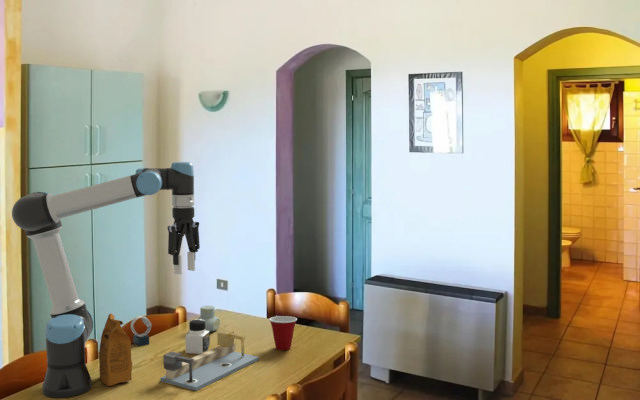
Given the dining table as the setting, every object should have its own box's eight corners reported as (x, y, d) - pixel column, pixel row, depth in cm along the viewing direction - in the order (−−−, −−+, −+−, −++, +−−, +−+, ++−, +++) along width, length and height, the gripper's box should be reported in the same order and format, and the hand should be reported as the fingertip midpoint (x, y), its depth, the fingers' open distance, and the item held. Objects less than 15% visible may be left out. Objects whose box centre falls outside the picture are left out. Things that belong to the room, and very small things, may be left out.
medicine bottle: (203, 354, 254) (202, 323, 253) (185, 353, 256) (184, 322, 254) (210, 348, 261) (209, 318, 260) (192, 347, 263) (192, 317, 261)
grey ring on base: (154, 343, 267) (153, 316, 266) (134, 347, 263) (133, 319, 261) (148, 339, 272) (147, 313, 271) (129, 343, 267) (128, 316, 266)
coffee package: (125, 371, 237) (123, 310, 235) (135, 382, 226) (133, 319, 224) (96, 376, 232) (94, 314, 230) (104, 388, 221) (102, 323, 219)
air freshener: (212, 335, 278) (211, 311, 277) (193, 333, 280) (192, 310, 279) (221, 327, 289) (221, 304, 288) (203, 326, 291) (203, 303, 290)
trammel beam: (188, 383, 223) (187, 360, 222) (164, 377, 228) (163, 354, 227) (250, 354, 251) (250, 333, 251) (227, 348, 257) (227, 329, 256)
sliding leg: (240, 357, 246) (240, 337, 245) (217, 352, 252) (217, 332, 251) (247, 354, 250) (247, 334, 249) (224, 349, 255) (224, 329, 254)
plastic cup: (298, 343, 267) (298, 314, 265) (295, 353, 256) (295, 322, 255) (271, 343, 268) (271, 313, 267) (267, 352, 257) (266, 321, 256)
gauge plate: (196, 390, 220) (196, 387, 219) (160, 381, 228) (160, 377, 228) (258, 360, 248) (258, 356, 248) (224, 352, 257) (224, 349, 257)
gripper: (171, 210, 224) (173, 278, 226) (209, 204, 240) (210, 268, 243) (155, 208, 228) (157, 275, 230) (193, 203, 244) (195, 266, 246)
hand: (184, 271), depth 236 cm, fingers open, 6 cm apart
